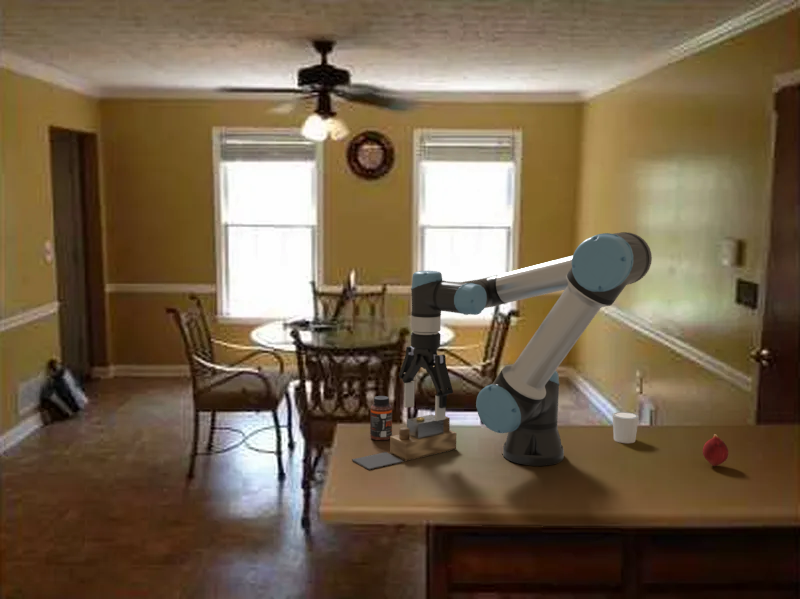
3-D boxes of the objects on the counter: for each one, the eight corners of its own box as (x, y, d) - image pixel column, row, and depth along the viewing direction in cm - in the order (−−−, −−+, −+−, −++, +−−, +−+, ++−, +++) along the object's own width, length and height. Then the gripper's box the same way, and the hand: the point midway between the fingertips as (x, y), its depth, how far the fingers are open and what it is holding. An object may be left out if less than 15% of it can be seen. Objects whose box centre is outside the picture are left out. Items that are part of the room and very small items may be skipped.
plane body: (440, 442, 207) (440, 413, 206) (456, 449, 201) (456, 419, 200) (390, 453, 198) (390, 423, 197) (405, 461, 192) (405, 429, 191)
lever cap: (443, 434, 200) (443, 417, 199) (418, 439, 195) (418, 422, 195) (431, 429, 204) (432, 412, 203) (406, 434, 199) (406, 417, 199)
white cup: (640, 444, 206) (642, 418, 205) (615, 443, 206) (616, 418, 205) (633, 436, 213) (634, 411, 212) (608, 436, 213) (609, 411, 212)
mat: (403, 462, 191) (403, 460, 191) (369, 470, 186) (369, 468, 186) (385, 453, 198) (385, 451, 198) (352, 460, 192) (352, 459, 192)
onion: (731, 466, 189) (733, 434, 188) (722, 472, 185) (724, 439, 184) (707, 460, 193) (709, 429, 192) (698, 466, 189) (699, 434, 188)
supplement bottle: (389, 442, 207) (389, 400, 206) (368, 440, 208) (367, 399, 207) (394, 435, 213) (394, 395, 212) (373, 433, 214) (373, 394, 213)
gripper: (468, 338, 188) (466, 423, 191) (409, 323, 208) (408, 399, 211) (443, 341, 184) (441, 428, 187) (386, 325, 204) (385, 403, 207)
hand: (424, 413), depth 199 cm, fingers open, 13 cm apart
